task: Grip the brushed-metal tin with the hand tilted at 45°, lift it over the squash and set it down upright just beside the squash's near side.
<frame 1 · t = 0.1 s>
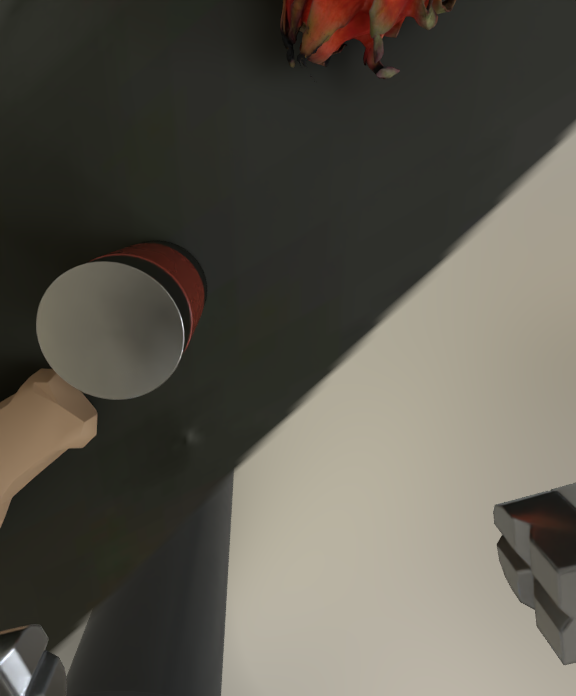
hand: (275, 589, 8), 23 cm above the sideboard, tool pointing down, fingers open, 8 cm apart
tin: (160, 287, 29), on the sideboard
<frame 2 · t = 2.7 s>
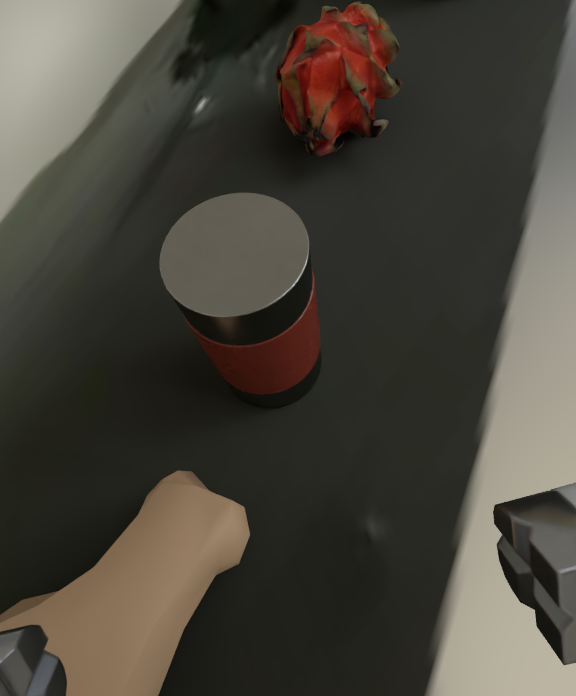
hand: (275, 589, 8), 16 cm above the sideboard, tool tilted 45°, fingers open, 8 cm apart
dragon fruit: (336, 130, 36), on the sideboard
squash: (100, 668, 22), on the sideboard
tin: (272, 361, 28), on the sideboard
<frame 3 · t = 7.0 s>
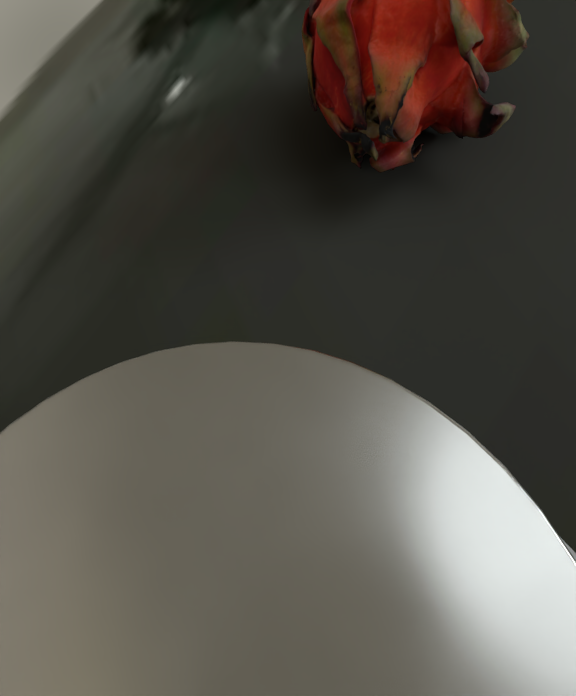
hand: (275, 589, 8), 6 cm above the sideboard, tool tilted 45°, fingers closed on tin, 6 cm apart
dragon fruit: (400, 127, 21), on the sideboard
tin: (306, 608, 13), on the sideboard, touching gripper
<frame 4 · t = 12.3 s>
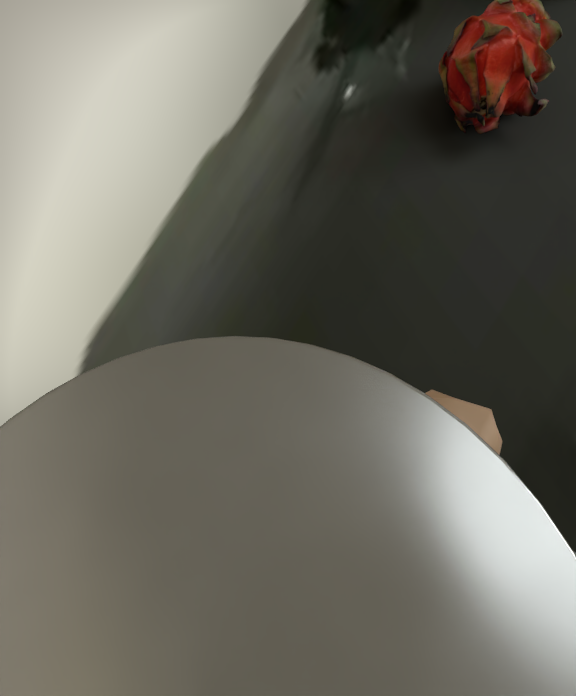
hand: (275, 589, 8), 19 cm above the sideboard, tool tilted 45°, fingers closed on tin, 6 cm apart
dragon fruit: (482, 112, 40), on the sideboard
squash: (366, 561, 25), on the sideboard
tin: (305, 606, 13), point 13 cm above the sideboard, touching gripper
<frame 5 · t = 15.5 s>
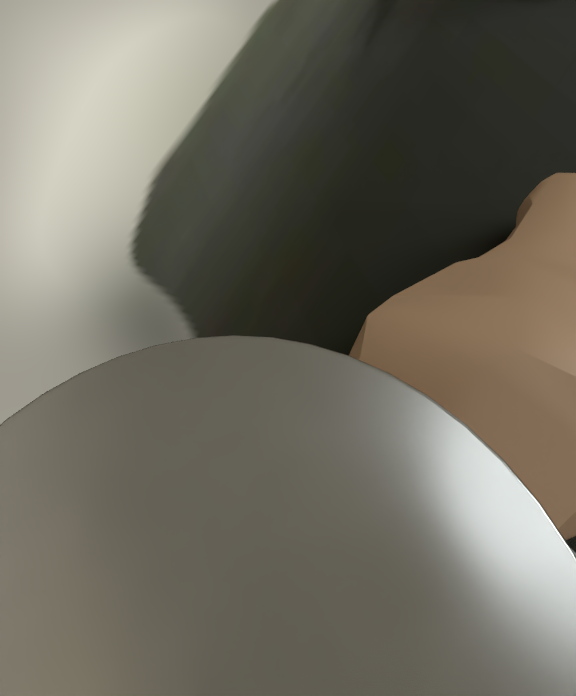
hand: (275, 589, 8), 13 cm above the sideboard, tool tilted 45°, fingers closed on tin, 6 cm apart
squash: (483, 363, 23), on the sideboard
tin: (305, 606, 13), point 7 cm above the sideboard, touching gripper
when the fingers open (6 cm above the sideboard, at t = 17.9 s): tin stays where it is, on the sideboard.
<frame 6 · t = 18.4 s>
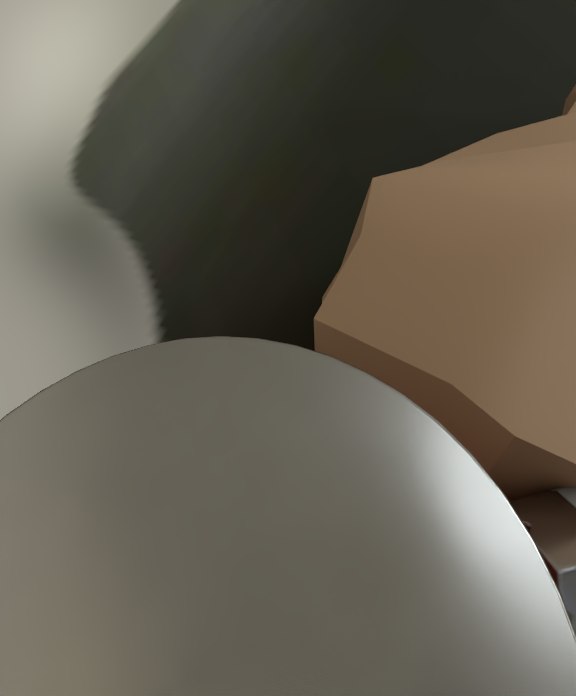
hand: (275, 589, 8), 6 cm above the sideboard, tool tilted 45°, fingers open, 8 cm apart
squash: (523, 296, 17), on the sideboard
tin: (298, 600, 13), on the sideboard
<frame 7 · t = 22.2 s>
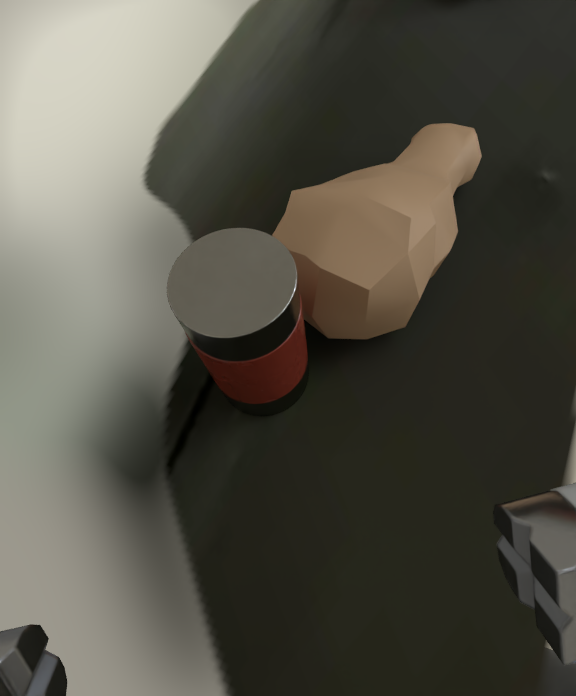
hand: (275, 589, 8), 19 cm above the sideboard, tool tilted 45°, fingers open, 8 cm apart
squash: (380, 248, 34), on the sideboard
tin: (264, 373, 30), on the sideboard
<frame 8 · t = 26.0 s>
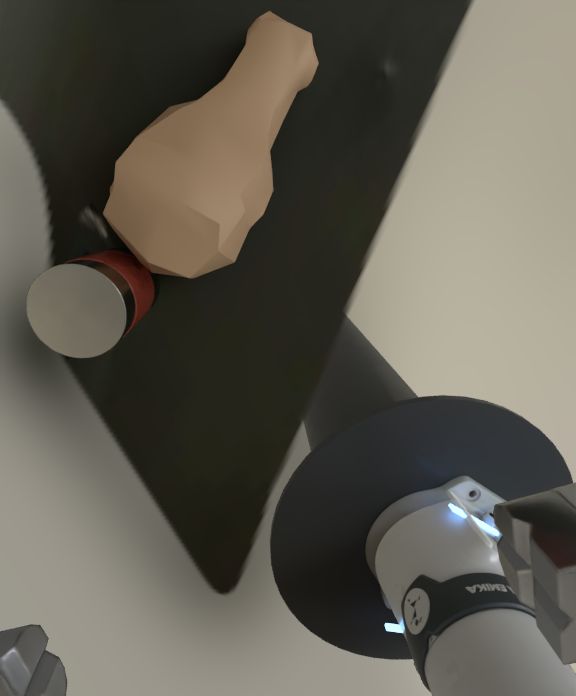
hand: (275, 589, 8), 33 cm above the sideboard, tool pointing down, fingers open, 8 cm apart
squash: (218, 155, 36), on the sideboard
tin: (123, 283, 39), on the sideboard
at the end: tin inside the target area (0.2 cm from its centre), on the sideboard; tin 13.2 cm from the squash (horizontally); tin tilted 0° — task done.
